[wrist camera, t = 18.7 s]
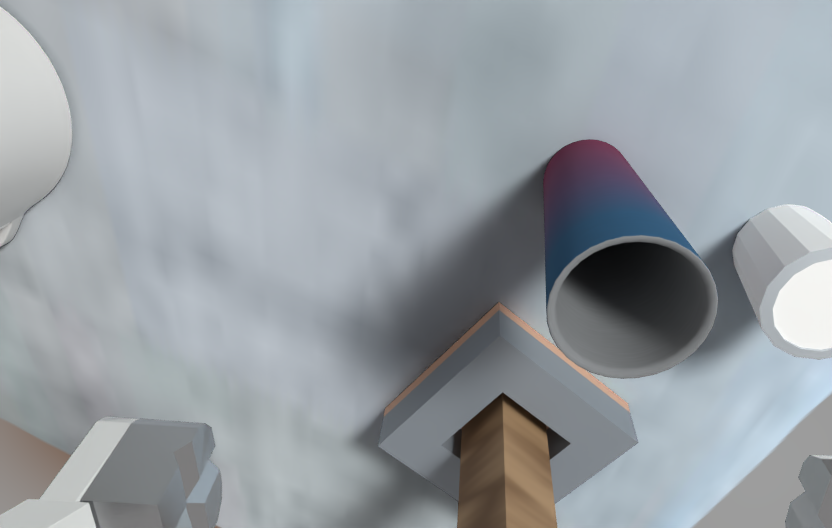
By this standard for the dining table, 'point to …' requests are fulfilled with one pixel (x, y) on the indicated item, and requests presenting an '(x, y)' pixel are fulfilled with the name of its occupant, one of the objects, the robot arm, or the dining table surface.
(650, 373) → the cup
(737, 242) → the shot glass
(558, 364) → the end cap
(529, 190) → the dining table surface
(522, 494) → the block
